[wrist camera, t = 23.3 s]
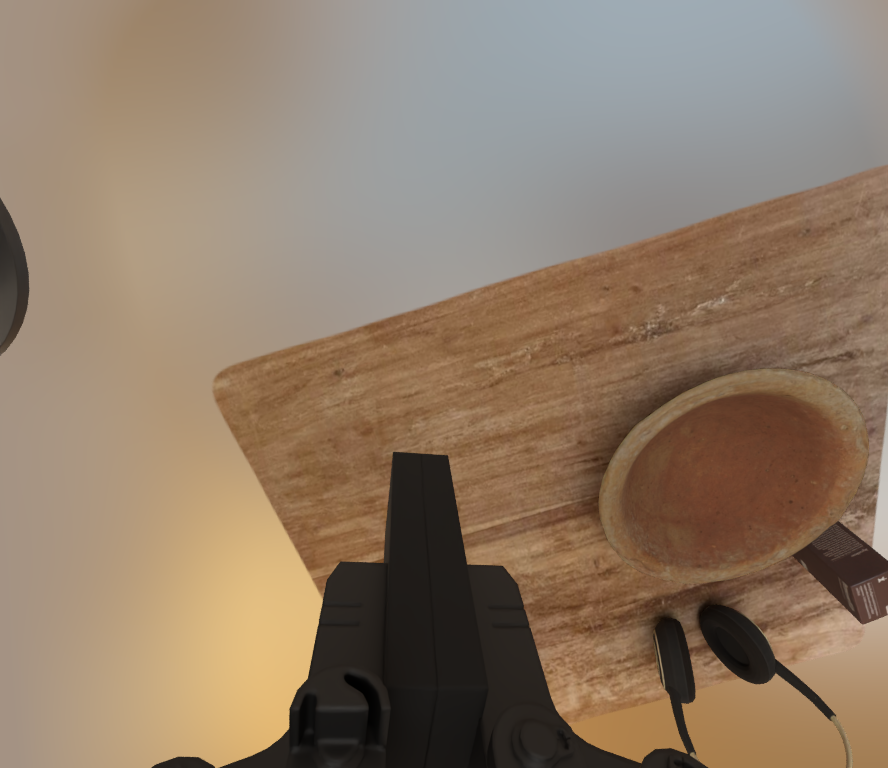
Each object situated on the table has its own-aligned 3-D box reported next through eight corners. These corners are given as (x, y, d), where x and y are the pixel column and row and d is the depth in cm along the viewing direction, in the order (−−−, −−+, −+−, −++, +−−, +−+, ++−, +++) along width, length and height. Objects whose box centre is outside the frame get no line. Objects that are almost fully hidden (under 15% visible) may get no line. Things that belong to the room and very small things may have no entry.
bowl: (539, 415, 46) (565, 458, 38) (771, 295, 43) (847, 316, 36) (622, 572, 55) (656, 631, 47) (819, 480, 52) (888, 527, 44)
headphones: (624, 612, 57) (730, 813, 38) (742, 579, 57) (908, 767, 38) (631, 658, 60) (733, 864, 42) (744, 628, 60) (896, 822, 41)
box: (755, 503, 52) (851, 587, 41) (794, 484, 52) (901, 564, 41) (769, 539, 54) (863, 628, 43) (806, 521, 54) (911, 606, 43)
